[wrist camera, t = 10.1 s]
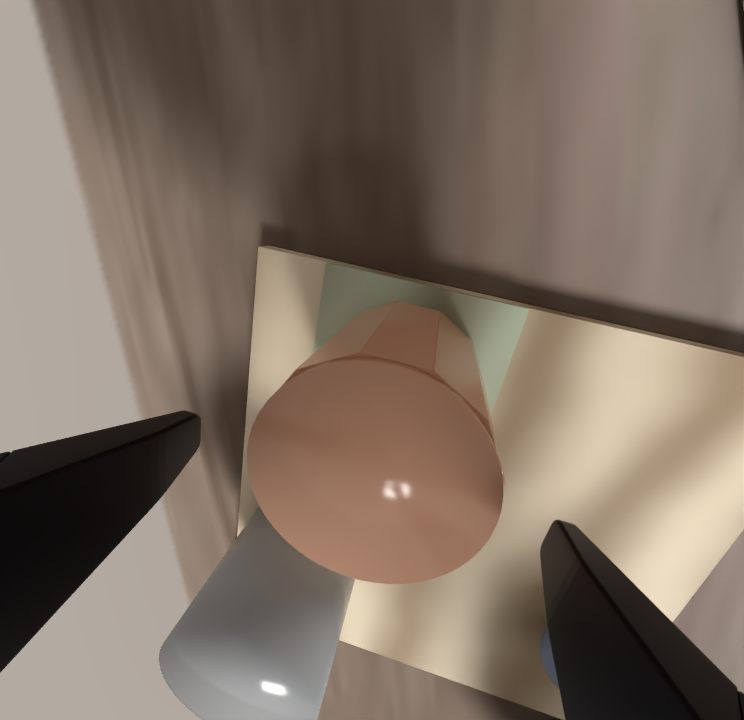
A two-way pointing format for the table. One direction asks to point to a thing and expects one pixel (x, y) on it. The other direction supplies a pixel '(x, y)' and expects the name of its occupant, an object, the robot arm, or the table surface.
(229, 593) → the grey rounded piece
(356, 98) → the table surface
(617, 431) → the birch board
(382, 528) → the peach domed cylinder
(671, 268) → the table surface
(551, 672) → the blue ellipsoid
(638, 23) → the table surface
